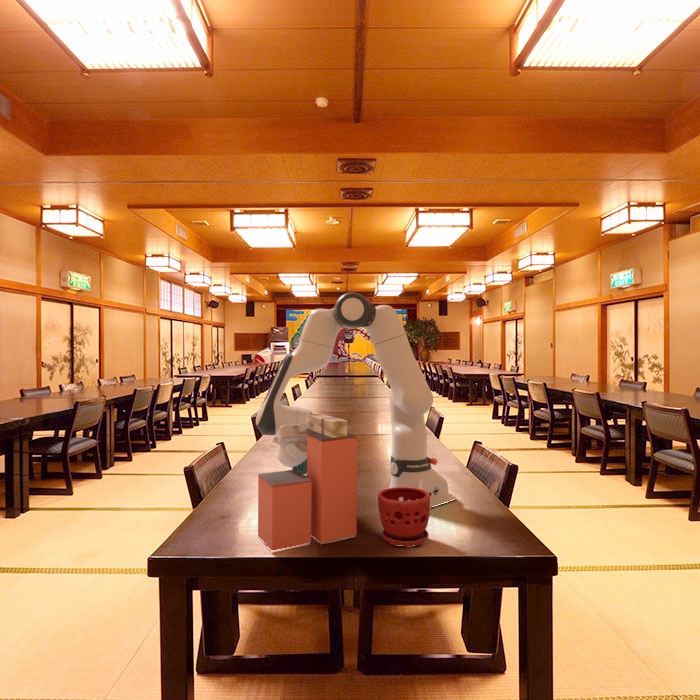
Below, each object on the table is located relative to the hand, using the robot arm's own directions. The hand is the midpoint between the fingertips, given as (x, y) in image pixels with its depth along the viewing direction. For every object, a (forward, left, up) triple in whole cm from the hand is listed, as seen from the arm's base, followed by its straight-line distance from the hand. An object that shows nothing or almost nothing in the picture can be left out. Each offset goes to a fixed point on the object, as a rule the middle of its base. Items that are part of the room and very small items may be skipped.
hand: (322, 422), depth 124 cm
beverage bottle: (-14, -49, -29) cm, 58 cm away
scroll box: (0, +2, -2) cm, 3 cm away
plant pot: (-15, +17, -29) cm, 37 cm away
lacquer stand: (+6, +5, -28) cm, 30 cm away
